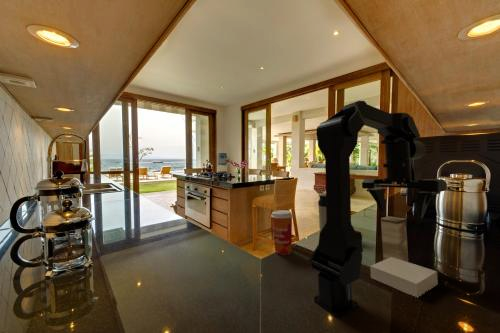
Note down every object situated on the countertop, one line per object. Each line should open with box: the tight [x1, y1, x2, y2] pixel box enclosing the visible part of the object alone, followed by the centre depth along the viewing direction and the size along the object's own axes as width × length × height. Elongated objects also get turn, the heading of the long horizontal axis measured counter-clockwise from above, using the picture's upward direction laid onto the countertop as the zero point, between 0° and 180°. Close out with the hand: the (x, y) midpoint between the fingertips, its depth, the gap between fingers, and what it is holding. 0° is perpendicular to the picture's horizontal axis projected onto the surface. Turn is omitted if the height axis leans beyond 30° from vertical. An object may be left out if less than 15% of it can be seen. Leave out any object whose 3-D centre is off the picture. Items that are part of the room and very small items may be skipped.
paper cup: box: [270, 209, 294, 255], centre depth 72 cm, size 8×8×14 cm
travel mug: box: [317, 192, 326, 233], centre depth 86 cm, size 8×8×18 cm
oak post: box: [380, 216, 409, 262], centre depth 60 cm, size 4×4×13 cm
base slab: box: [370, 257, 439, 299], centre depth 51 cm, size 10×10×3 cm
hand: (401, 215), depth 57 cm, fingers open, 9 cm apart
